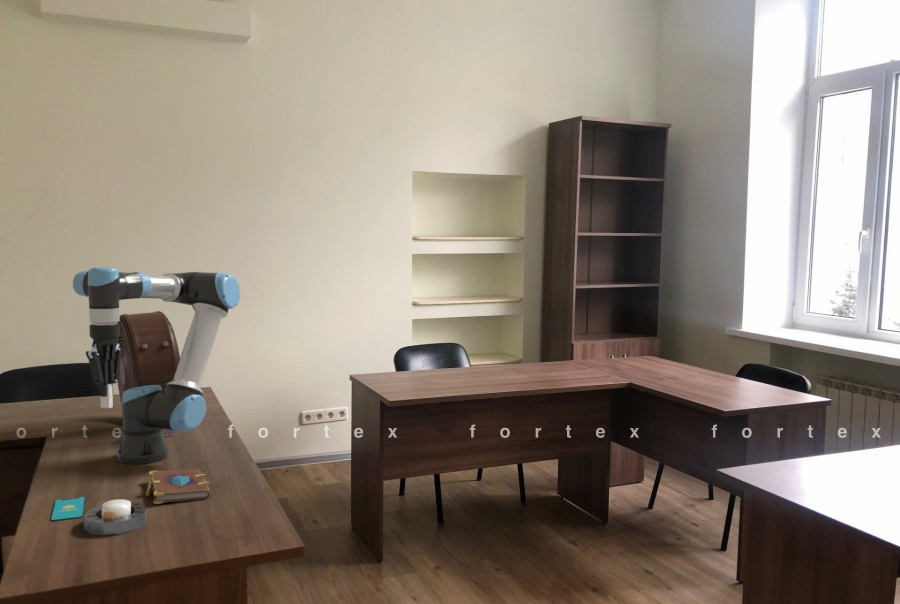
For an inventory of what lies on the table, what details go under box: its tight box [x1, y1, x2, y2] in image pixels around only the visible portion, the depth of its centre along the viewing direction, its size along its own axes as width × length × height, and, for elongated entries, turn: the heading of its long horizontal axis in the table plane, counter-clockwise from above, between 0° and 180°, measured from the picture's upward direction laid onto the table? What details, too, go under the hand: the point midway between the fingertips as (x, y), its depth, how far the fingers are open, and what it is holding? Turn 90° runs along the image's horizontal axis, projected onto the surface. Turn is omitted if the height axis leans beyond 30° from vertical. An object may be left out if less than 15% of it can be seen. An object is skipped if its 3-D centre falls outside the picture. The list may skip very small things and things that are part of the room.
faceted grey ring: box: [83, 501, 148, 536], centre depth 181 cm, size 14×14×3 cm
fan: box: [116, 310, 181, 435], centre depth 268 cm, size 41×18×44 cm, turn 34°
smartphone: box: [50, 496, 86, 522], centre depth 190 cm, size 7×1×15 cm
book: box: [145, 468, 211, 505], centre depth 207 cm, size 16×25×5 cm, turn 26°
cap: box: [102, 498, 132, 519], centre depth 181 cm, size 8×7×5 cm
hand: (106, 407), depth 201 cm, fingers closed
